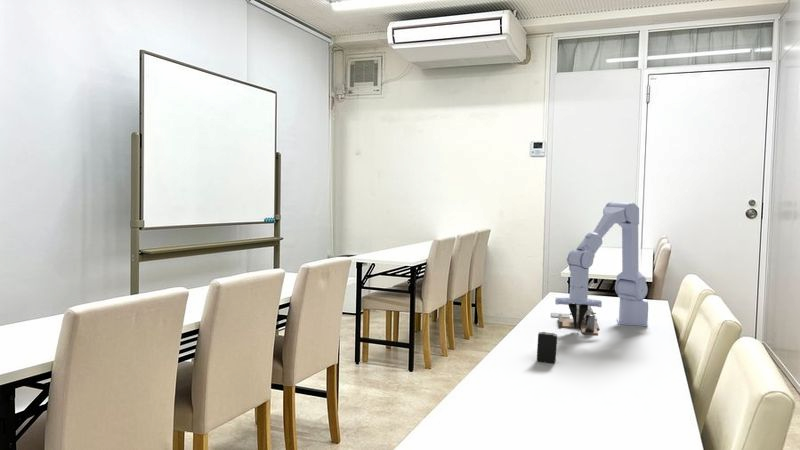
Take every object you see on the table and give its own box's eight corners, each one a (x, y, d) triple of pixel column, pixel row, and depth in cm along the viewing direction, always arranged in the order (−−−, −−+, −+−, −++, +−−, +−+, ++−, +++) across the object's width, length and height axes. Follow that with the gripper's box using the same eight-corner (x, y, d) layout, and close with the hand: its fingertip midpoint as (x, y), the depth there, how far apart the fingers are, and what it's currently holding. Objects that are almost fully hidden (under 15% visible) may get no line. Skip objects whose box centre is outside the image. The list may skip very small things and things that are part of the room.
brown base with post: (596, 322, 214) (597, 305, 214) (601, 335, 196) (602, 317, 195) (558, 319, 217) (559, 303, 217) (559, 332, 199) (560, 314, 198)
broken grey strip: (595, 317, 223) (595, 315, 223) (597, 320, 217) (597, 319, 217) (551, 314, 227) (551, 312, 227) (551, 317, 221) (551, 316, 221)
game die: (584, 334, 212) (600, 311, 213) (587, 331, 204) (603, 307, 205) (562, 319, 215) (578, 296, 216) (564, 316, 207) (580, 292, 208)
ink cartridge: (555, 361, 167) (557, 333, 166) (554, 364, 165) (556, 335, 164) (537, 359, 169) (539, 331, 168) (536, 361, 167) (538, 333, 166)
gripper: (556, 287, 196) (554, 328, 197) (603, 289, 193) (601, 331, 194) (555, 283, 203) (554, 323, 204) (601, 286, 200) (599, 326, 201)
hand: (577, 327), depth 199 cm, fingers closed
